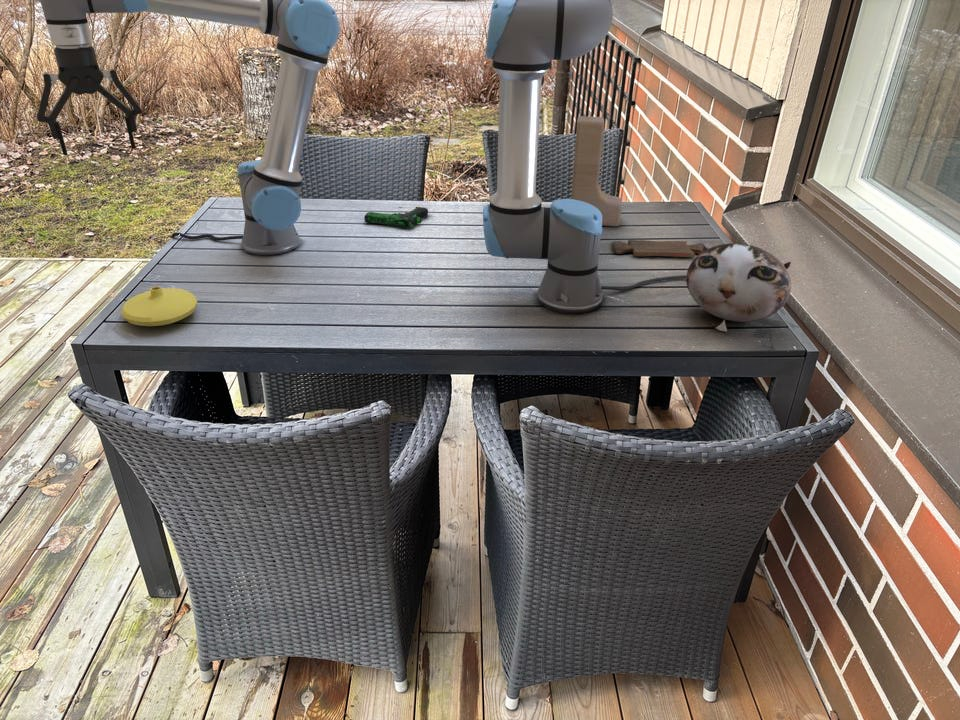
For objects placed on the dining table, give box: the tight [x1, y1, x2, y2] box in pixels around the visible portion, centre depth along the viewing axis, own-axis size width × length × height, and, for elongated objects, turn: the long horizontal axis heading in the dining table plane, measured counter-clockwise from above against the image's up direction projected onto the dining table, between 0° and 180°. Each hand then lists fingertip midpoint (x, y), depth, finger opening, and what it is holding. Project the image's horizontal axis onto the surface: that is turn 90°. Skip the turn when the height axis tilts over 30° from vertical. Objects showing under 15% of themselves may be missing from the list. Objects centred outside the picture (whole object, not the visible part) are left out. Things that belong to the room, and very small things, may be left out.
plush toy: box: [685, 242, 792, 332], centre depth 158 cm, size 22×18×20 cm
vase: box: [120, 286, 198, 327], centre depth 157 cm, size 16×16×7 cm
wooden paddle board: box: [611, 239, 706, 258], centre depth 197 cm, size 26×2×10 cm
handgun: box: [363, 206, 429, 230], centre depth 215 cm, size 16×3×15 cm
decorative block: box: [570, 115, 623, 227], centre depth 209 cm, size 8×15×30 cm, turn 82°
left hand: (100, 150), depth 157 cm, fingers open, 13 cm apart
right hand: (524, 98), depth 193 cm, fingers closed on tin, 6 cm apart
